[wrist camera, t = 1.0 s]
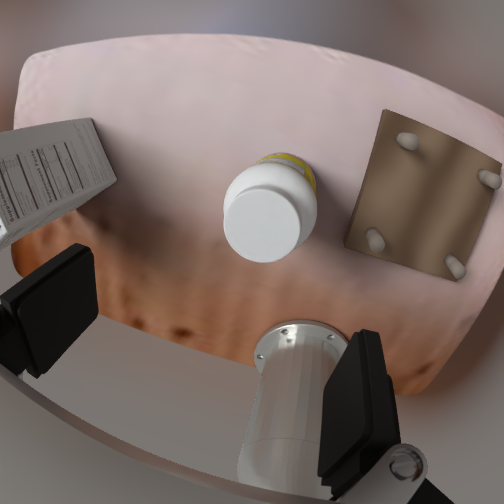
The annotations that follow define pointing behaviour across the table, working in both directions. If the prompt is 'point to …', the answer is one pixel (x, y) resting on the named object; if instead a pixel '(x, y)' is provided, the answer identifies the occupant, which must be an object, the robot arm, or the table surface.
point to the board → (422, 198)
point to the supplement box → (48, 174)
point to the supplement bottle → (271, 208)
